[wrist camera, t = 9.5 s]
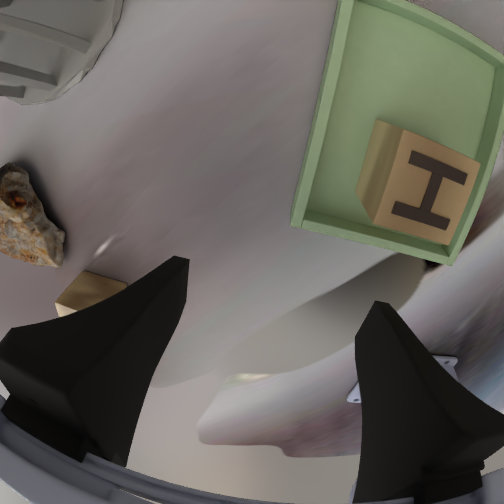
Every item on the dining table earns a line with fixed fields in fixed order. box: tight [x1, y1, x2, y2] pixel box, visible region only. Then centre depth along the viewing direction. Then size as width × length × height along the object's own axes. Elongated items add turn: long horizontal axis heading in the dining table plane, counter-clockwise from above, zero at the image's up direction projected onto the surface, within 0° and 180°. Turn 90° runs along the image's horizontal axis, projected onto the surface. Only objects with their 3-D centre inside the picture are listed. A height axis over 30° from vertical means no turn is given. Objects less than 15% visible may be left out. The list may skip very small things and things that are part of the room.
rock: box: [0, 163, 65, 268], centre depth 18 cm, size 9×6×10 cm
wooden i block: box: [55, 271, 127, 317], centre depth 22 cm, size 4×4×5 cm
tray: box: [290, 0, 504, 266], centre depth 14 cm, size 11×14×2 cm
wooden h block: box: [355, 119, 481, 246], centre depth 13 cm, size 4×4×5 cm
